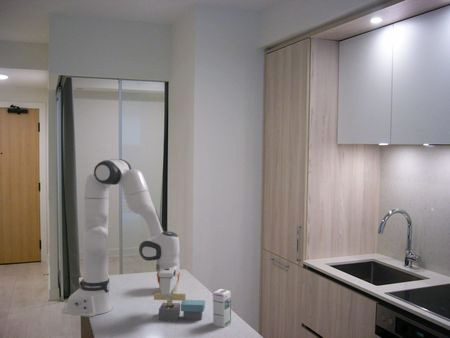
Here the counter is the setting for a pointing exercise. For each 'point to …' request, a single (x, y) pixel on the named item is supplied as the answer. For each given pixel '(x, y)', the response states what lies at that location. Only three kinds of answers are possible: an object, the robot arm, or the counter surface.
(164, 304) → the block
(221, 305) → the syrup box
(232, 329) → the counter surface
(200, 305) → the cover
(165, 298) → the T-key
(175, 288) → the reusable coffee cup
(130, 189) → the robot arm
